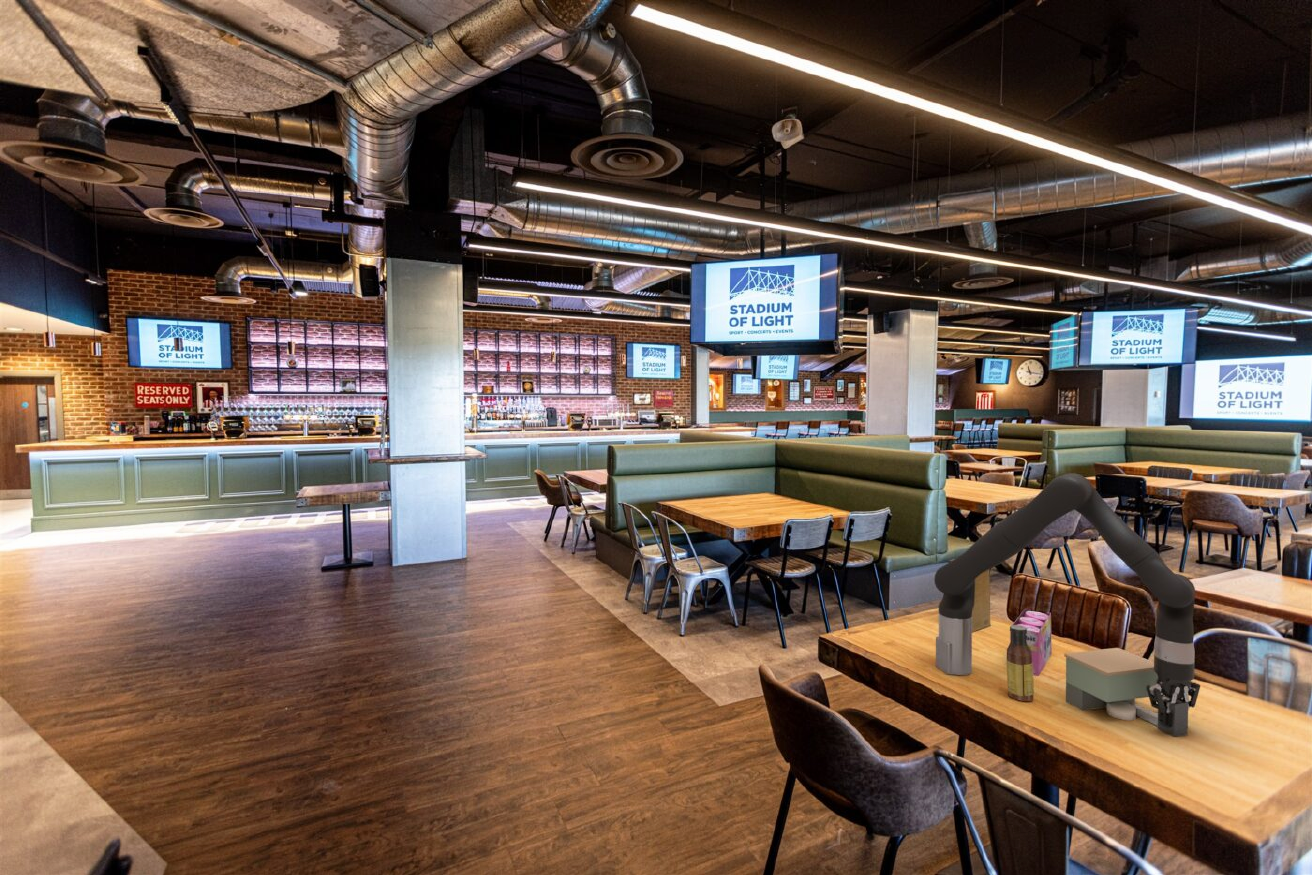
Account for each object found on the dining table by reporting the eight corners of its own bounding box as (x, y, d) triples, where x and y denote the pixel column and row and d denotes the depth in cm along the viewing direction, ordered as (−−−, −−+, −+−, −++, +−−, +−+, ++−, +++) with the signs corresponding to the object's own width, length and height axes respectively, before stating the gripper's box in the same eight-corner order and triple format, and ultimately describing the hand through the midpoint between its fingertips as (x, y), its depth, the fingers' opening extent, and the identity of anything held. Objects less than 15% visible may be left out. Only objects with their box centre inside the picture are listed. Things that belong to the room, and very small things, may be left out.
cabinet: (1106, 724, 151) (1107, 672, 150) (1063, 701, 163) (1064, 653, 163) (1163, 716, 154) (1164, 666, 154) (1117, 694, 167) (1117, 647, 166)
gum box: (1025, 646, 202) (1025, 607, 201) (1052, 652, 197) (1053, 611, 196) (1009, 669, 184) (1009, 626, 184) (1039, 676, 179) (1039, 632, 178)
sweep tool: (1174, 736, 145) (1175, 704, 144) (1115, 707, 159) (1116, 677, 159) (1187, 734, 145) (1188, 702, 145) (1127, 705, 160) (1128, 676, 160)
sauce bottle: (1030, 693, 168) (1030, 624, 167) (1036, 703, 162) (1036, 632, 161) (1004, 690, 170) (1004, 622, 169) (1009, 700, 164) (1009, 629, 163)
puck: (1122, 721, 152) (1122, 712, 152) (1100, 710, 158) (1100, 701, 158) (1141, 719, 153) (1141, 709, 153) (1119, 708, 159) (1119, 699, 159)
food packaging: (967, 618, 230) (967, 554, 229) (991, 625, 222) (992, 559, 221) (947, 625, 222) (947, 559, 222) (971, 633, 214) (971, 564, 214)
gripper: (1166, 665, 141) (1165, 736, 142) (1213, 659, 144) (1212, 729, 145) (1135, 653, 148) (1134, 720, 149) (1181, 648, 151) (1179, 714, 152)
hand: (1172, 724), depth 147 cm, fingers closed on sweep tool, 4 cm apart
